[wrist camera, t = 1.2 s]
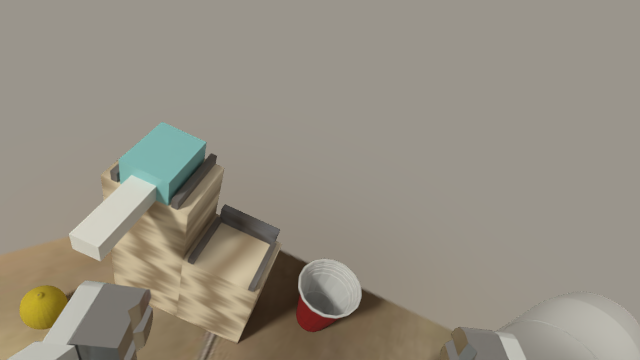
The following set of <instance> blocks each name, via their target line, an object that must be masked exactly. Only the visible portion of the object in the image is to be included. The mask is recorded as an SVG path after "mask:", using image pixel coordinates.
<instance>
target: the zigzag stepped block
mask: <svg viewBox="0 0 640 360" xmlns="http://www.w3.org/2000/svg"><path fill="white" fill-rule="evenodd" d="M147 135H148V134H147ZM132 148H133V147H132ZM125 154H126V153H125ZM216 158H217V156H216V155H214V154H210V155H209V157H208V158H207V159H204V162H203V163H202V165H201V166H200V167H199V168H198V169H197V170H196V172H195V173H194V174H193V175H192V176H191V177H190V178H189V180H188V181H187V182H186V183H185V184H184V185H183V187H182V188H181V189H180V190H179V191H178V192H177V193H176V195H175V196H174V197H173V198H172V201H171V203H170V204H169V205H168V206H167V205H165V204H163V203H161V202H158V201H155V202H154V203H153V204H152V205H151V207H150V208H149V209H148V210H147V211H146V212H145V213H144V214H143V215H142V216H141V218H140V219H139V220H138V221H137V222H136V223H135V224H134V225H133V226H132V227H131V229H130V230H129V231H128V232H127V233H126V234H125V235H124V236H123V237H122V238H121V240H120V241H119V242H118V243H117V244H116V245H115V246H114V247H113V248H112V249H111V255H112V262H113V270H114V277H115V284H116V285H123V286H130V287H137V288H144V289H150V292H151V300H150V302H149V304H151V305H153V306H155V307H157V308H159V309H162V310H164V311H166V312H168V313H170V314H173V315H175V316H177V317H179V318H181V319H183V320H186V321H188V322H190V323H192V324H194V325H197V326H199V327H201V328H203V329H205V330H207V331H210V332H212V333H214V334H216V335H218V336H220V337H223V338H225V339H227V340H229V341H231V342H234V343H236V344H237V343H238V341H239V339H240V336H241V334H242V332H243V330H244V328H245V326H246V324H247V322H248V320H249V317H250V315H251V313H252V311H253V309H254V307H255V305H256V303H257V301H258V298H259V296H260V294H261V292H262V289H263V287H264V285H265V282H266V280H267V278H268V275H269V273H270V271H271V269H272V266H273V264H274V262H275V259H276V257H277V255H278V252H279V250H280V248H281V245H282V244H281V243H279V242H276V238H277V236H278V233H279V231H280V229H278V228H275V227H273V226H271V225H269V224H267V223H264V222H263V221H260V220H258V219H256V218H254V217H252V216H249V215H247V214H245V213H243V212H241V211H239V210H236V209H234V208H232V207H230V206H227V205H224V206H223V208H222V210H221V214H220V215H218V214H216V208H217V203H218V199H219V194H220V188H221V183H222V178H223V172H224V168H223V167H221V166H219V165H217V164H216ZM101 181H102V188H103V196H104V200H106V199H107V198H108V197H109V196H110V195H111V194H112V193H113V192H114V191H115V190H116V189H117V188H118V187H119V186H120V185H121V184H120V172H119V161H118V160H117V161H116V162H115V163H114V164H113V165H112V166H110V167H109V168H108V169H107V170H106V171H105V172H104V173H102V174H101Z"/></svg>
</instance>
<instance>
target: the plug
mask: <svg viewBox="0 0 640 360" xmlns="http://www.w3.org/2000/svg"><path fill="white" fill-rule="evenodd" d="M205 149H206V142H205V141H203V140H201V139H198V138H196V137H194V136H192V135H190V134H188V133H185V132H183V131H181V130H179V129H177V128H174V127H172V126H170V125H168V124H166V123H164V122H161V123H160V124H159V125H158V126H157V127H156V128H155V129H153V130H152V131H151V132H150V133H149V134H148V135H146V136H145V137H144V138H143V139H142V140H141V141H139V142H138V143H137V144H136V145H135V146H134V147H133V148H131V149H130V150H129V151H128V152H127V153H126V154H124V155H123V156H122V157H121V158H120V159H119V160H118V161H119V172H120V184H121V185H120V186H119V187H118V188H117V189H116V190H115V191H114V192H113V193H112V194H111V195H110V196H109V197H108V198H107V199H106V200H104V202H102V203H101V204H100V205H99V206H98V207H97V208H96V209H95V210H94V211H93V212H92V213H91V214H90V215H89V216H88V217H86V218H85V219H84V220H83V221H82V222H81V223H80V224H79V225H78V226H77V227H76V228H75V229H74V230H73V231H72V232H71V233H70V234H69V236H70V240H71V244H72V248H73V249H75V250H77V251H79V252H81V253H83V254H86V255H88V256H90V257H92V258H94V259H97V260H99V261H102V259H103V258H104V257H105V256H106V255H107V254H108V253H109V252H110V251H111V249H112V248H113V247H114V246H115V245H116V244H117V243H118V242H119V241H120V240H121V238H122V237H123V236H124V235H125V234H126V233H127V232H128V231H129V230H130V229H131V227H132V226H133V225H134V224H135V223H136V222H137V221H138V220H139V219H140V218H141V216H142V215H143V214H144V213H145V212H146V211H147V210H148V209H149V208H150V207H151V205H152V204H153V203H154V202H155V201H158V202H161V203H163V204H165V205H167V206H168V205H169V204H170V203H171V201H172V198H173V197H174V196H175V195H176V193H177V192H178V191H179V190H180V189H181V188H182V187H183V185H184V184H185V183H186V182H187V181H188V180H189V178H190V177H191V176H192V175H193V174H194V173H195V172H196V170H197V169H198V168H199V167H200V166H201V165H202V163H203V162H204V157H205Z"/></svg>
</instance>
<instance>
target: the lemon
mask: <svg viewBox="0 0 640 360" xmlns="http://www.w3.org/2000/svg"><path fill="white" fill-rule="evenodd" d="M67 303H68V301H67V298H66V296H65V294H64V293H63V292H62V291H61V290H60V289H58V288H56V287H54V286H48V285H46V286H40V287H36V288H34V289H32V290H31V291H29V292H28V293H27V294H26V295H25V296H24V298H23V299H22V301H21V304H20V316H21V319H22V320H23V322H24V323H25V324H26V325H27V326H29V327H31V328H34V329H48V328H51V327H52V326H53V325H54V323H55V322H56V320H57V319H58V317H59V316H60V314H61V313H62V311H63V310H64V308H65V306H66V305H67Z"/></svg>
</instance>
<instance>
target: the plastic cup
mask: <svg viewBox="0 0 640 360" xmlns="http://www.w3.org/2000/svg"><path fill="white" fill-rule="evenodd" d="M298 289H299V292H300V295H299V300H298V306H297V313H296V317H297V321H298V323H299V324H300V326H301V327H302V328H303V329H305V330H307V331H310V332H315V331H319V330H322V329H323V328H325V327H327V326H329V325H330V324H332V323H333V322H334V321H336V320H337V319H340V318H341V317H345V316H348V315H349V314H351V313H352V312H353V311H354V310H355V309H356V308H358V305H359V303H360V300H361V298H362V294H361V285H360V283H359V281H358V278H357V276H356V275H355V274H354V273H353V272H352V271H351V269H349V268H348V266H346V265H344V264H342V263H340V262H338V261H336V260H331V259H325V258H324V259H319V260H314V261H312V262H311V263H309V264H308V265H306V266H305V267H304V268H303V270H302V272H301V273H300V275H299V283H298Z"/></svg>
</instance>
